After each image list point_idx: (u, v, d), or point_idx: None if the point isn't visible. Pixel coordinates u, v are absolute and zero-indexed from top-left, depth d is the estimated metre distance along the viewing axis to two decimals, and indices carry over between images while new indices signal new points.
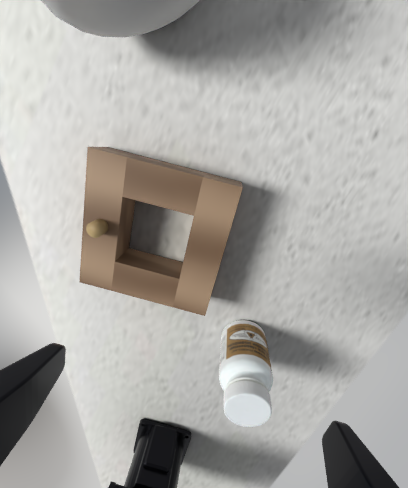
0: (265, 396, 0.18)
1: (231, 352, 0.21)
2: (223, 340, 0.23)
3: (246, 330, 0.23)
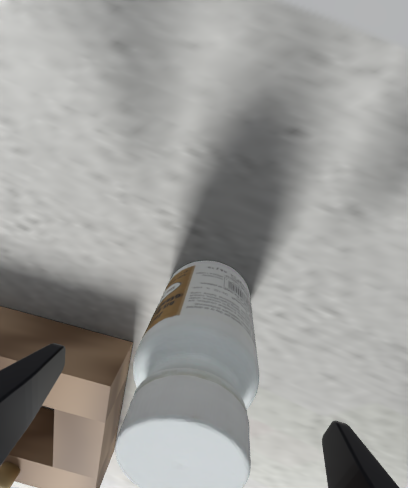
0: (133, 413, 0.06)
1: None
2: None
3: None
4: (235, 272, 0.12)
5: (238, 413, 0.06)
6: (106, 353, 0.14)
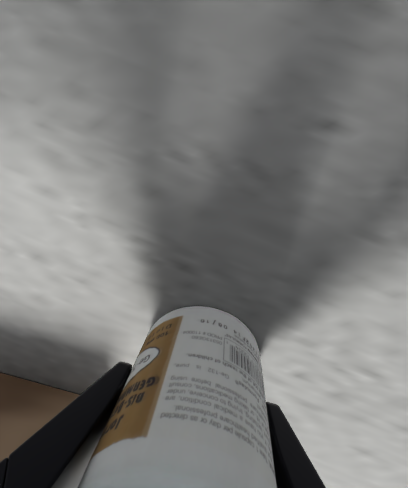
0: None
1: None
2: None
3: None
4: (239, 324, 0.09)
5: None
6: None
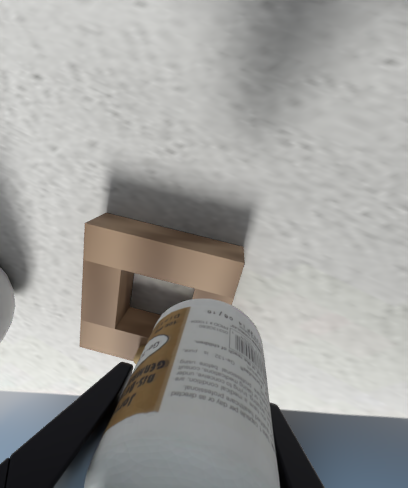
0: None
1: None
2: None
3: None
4: (244, 316, 0.09)
5: None
6: (229, 249, 0.18)
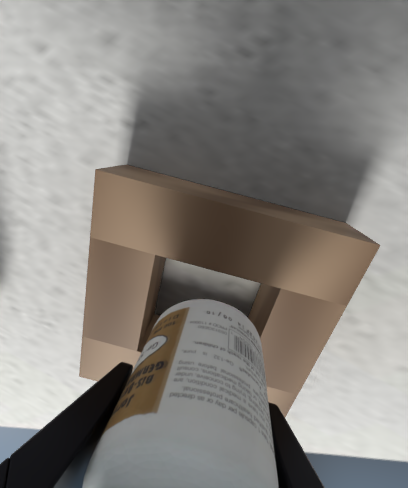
0: None
1: None
2: None
3: None
4: (243, 317, 0.09)
5: None
6: (334, 224, 0.11)
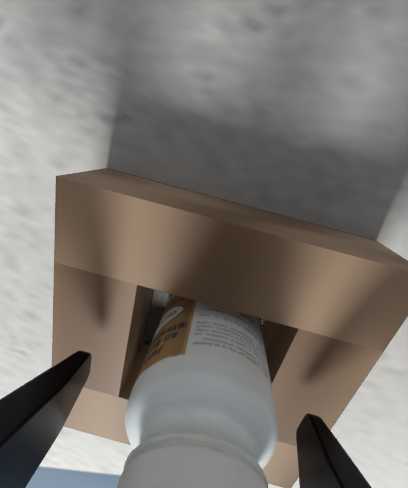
0: None
1: None
2: None
3: None
4: None
5: None
6: (365, 245, 0.09)
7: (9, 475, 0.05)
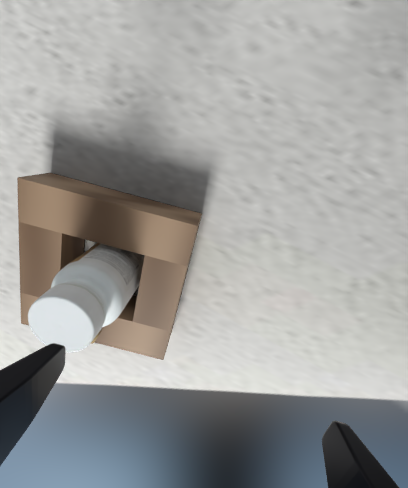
0: (37, 299, 0.12)
1: None
2: None
3: None
4: None
5: (92, 302, 0.13)
6: (185, 214, 0.17)
7: None
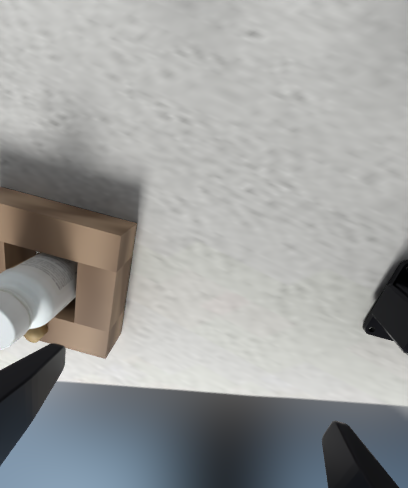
0: None
1: None
2: None
3: None
4: None
5: (14, 305, 0.14)
6: (117, 224, 0.18)
7: None
